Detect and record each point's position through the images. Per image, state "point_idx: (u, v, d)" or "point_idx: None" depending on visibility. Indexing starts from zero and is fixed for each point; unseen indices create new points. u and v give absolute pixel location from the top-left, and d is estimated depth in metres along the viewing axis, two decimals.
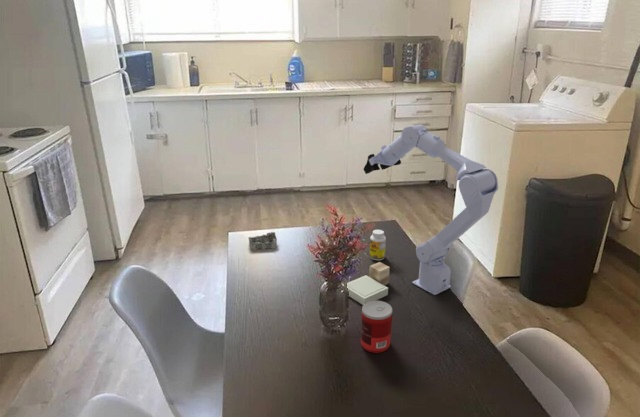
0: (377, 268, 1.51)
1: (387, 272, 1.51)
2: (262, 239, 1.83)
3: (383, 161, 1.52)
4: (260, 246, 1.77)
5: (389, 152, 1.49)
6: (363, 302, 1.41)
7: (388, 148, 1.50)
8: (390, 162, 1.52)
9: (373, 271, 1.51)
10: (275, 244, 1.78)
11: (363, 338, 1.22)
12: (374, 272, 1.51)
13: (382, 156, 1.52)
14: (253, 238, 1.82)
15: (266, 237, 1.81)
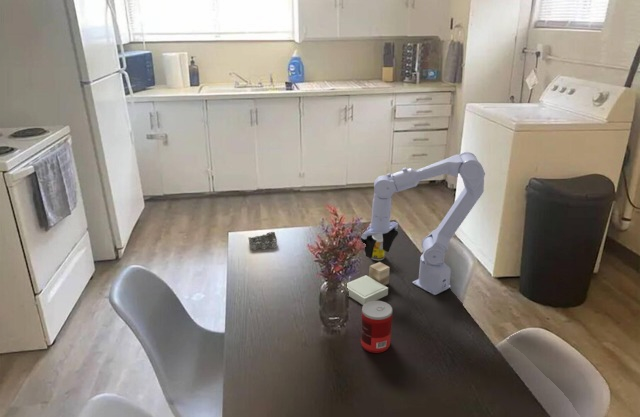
0: (377, 268, 1.51)
1: (387, 272, 1.51)
2: (262, 239, 1.83)
3: (375, 232, 1.45)
4: (260, 246, 1.77)
5: (374, 218, 1.44)
6: (363, 302, 1.41)
7: (372, 217, 1.46)
8: (382, 229, 1.45)
9: (373, 271, 1.51)
10: (275, 244, 1.78)
11: (363, 338, 1.22)
12: (374, 272, 1.51)
13: (372, 228, 1.46)
14: (253, 238, 1.82)
15: (266, 237, 1.81)
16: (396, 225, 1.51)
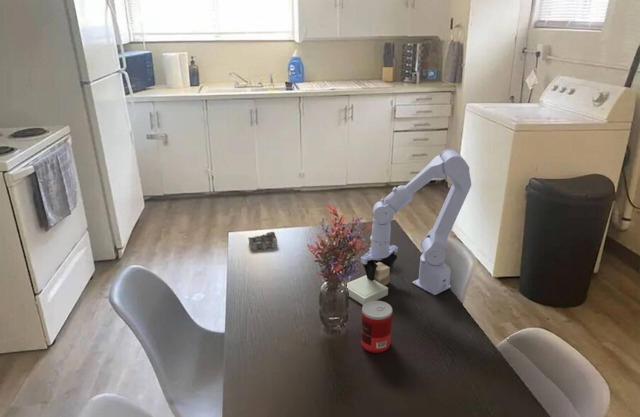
0: (377, 268, 1.51)
1: (387, 272, 1.51)
2: (262, 239, 1.83)
3: (375, 256, 1.47)
4: (260, 246, 1.77)
5: (374, 243, 1.46)
6: (363, 302, 1.41)
7: (371, 241, 1.48)
8: (382, 253, 1.47)
9: None
10: (275, 244, 1.78)
11: (363, 338, 1.22)
12: None
13: (372, 253, 1.48)
14: (253, 238, 1.82)
15: (266, 237, 1.82)
16: (396, 249, 1.53)
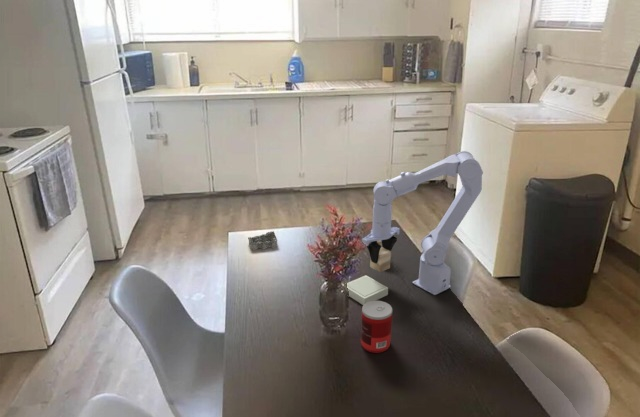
0: None
1: (388, 256, 1.49)
2: (261, 239, 1.83)
3: None
4: (260, 246, 1.77)
5: (375, 224, 1.44)
6: (363, 302, 1.41)
7: (373, 223, 1.46)
8: (383, 235, 1.45)
9: None
10: (275, 243, 1.79)
11: (363, 338, 1.22)
12: None
13: (373, 235, 1.46)
14: (252, 238, 1.82)
15: (265, 237, 1.82)
16: (398, 230, 1.50)
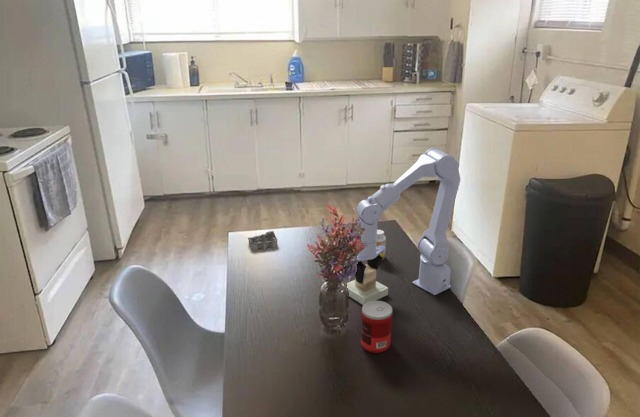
0: None
1: (374, 275, 1.44)
2: (261, 239, 1.83)
3: None
4: (261, 245, 1.77)
5: None
6: (363, 302, 1.41)
7: None
8: (368, 255, 1.40)
9: None
10: (276, 243, 1.79)
11: (363, 338, 1.22)
12: None
13: (358, 254, 1.41)
14: (252, 238, 1.81)
15: (265, 236, 1.82)
16: (384, 249, 1.46)
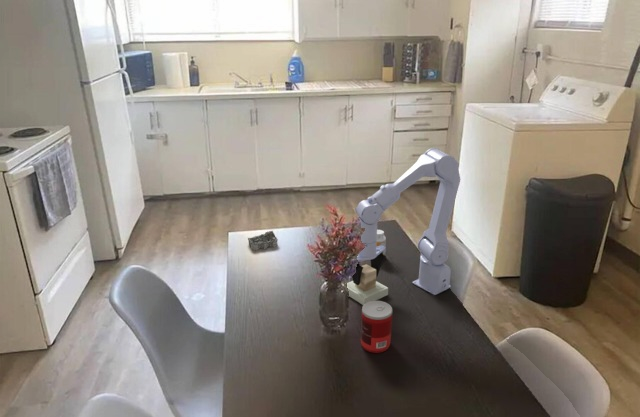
0: (363, 270, 1.44)
1: (374, 275, 1.44)
2: (260, 239, 1.83)
3: (361, 258, 1.40)
4: (261, 245, 1.77)
5: None
6: (363, 302, 1.41)
7: None
8: (368, 255, 1.40)
9: None
10: (276, 242, 1.79)
11: (363, 338, 1.22)
12: None
13: (358, 254, 1.41)
14: (252, 238, 1.81)
15: (265, 236, 1.82)
16: (384, 249, 1.46)
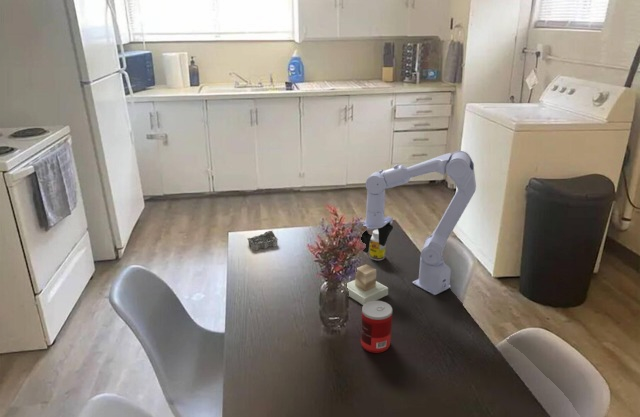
0: (363, 270, 1.44)
1: (374, 275, 1.44)
2: None
3: (370, 227, 1.49)
4: (262, 245, 1.78)
5: (368, 213, 1.49)
6: (363, 302, 1.41)
7: (366, 212, 1.50)
8: (376, 223, 1.49)
9: (359, 274, 1.44)
10: (276, 242, 1.80)
11: (363, 338, 1.22)
12: (360, 275, 1.44)
13: (367, 224, 1.50)
14: (251, 239, 1.81)
15: (264, 236, 1.82)
16: (391, 220, 1.55)
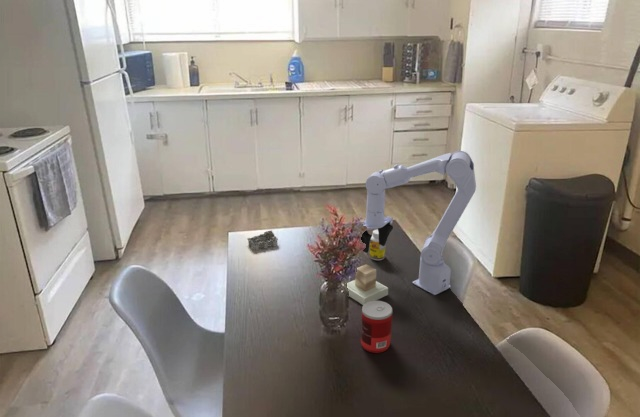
0: (363, 270, 1.44)
1: (374, 275, 1.44)
2: None
3: (370, 227, 1.49)
4: (262, 245, 1.78)
5: (368, 213, 1.49)
6: (363, 302, 1.41)
7: (366, 212, 1.50)
8: (376, 223, 1.49)
9: (359, 274, 1.44)
10: (276, 242, 1.80)
11: (363, 338, 1.22)
12: (360, 275, 1.44)
13: (367, 224, 1.50)
14: (251, 239, 1.81)
15: (264, 236, 1.82)
16: (391, 220, 1.55)
